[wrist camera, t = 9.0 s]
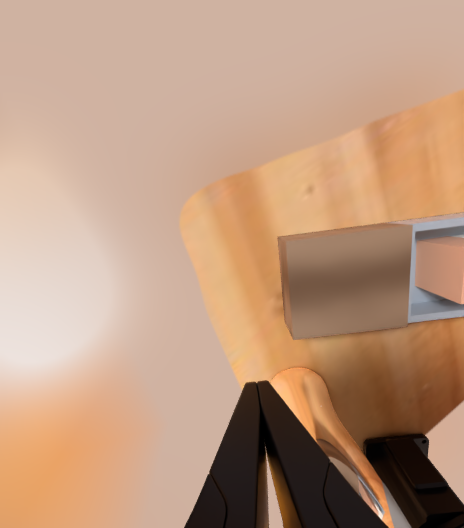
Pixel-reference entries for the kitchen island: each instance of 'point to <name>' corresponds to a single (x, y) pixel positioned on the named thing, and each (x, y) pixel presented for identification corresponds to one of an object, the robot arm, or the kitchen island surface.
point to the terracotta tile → (441, 267)
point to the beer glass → (337, 441)
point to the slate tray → (420, 300)
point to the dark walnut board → (346, 279)
